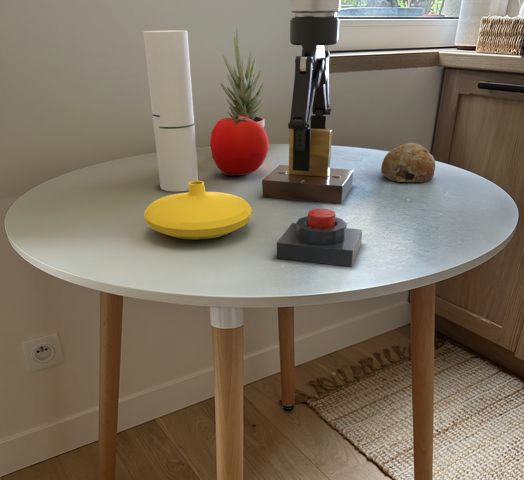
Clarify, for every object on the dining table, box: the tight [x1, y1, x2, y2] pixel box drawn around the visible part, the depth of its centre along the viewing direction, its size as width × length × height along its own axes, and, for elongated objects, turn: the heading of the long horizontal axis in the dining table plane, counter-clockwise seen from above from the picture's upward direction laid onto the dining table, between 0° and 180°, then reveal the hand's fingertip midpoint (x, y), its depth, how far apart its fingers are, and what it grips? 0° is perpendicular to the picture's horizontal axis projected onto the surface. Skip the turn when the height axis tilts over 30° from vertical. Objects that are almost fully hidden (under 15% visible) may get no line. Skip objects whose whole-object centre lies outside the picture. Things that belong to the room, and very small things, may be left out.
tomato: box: [209, 111, 270, 176], centre depth 105 cm, size 12×12×11 cm
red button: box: [307, 208, 337, 229], centre depth 71 cm, size 4×4×2 cm
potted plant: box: [220, 27, 266, 128], centre depth 116 cm, size 10×10×25 cm
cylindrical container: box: [142, 29, 199, 193], centre depth 95 cm, size 7×7×25 cm
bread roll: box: [380, 142, 436, 183], centre depth 104 cm, size 10×10×8 cm
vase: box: [143, 180, 253, 241], centre depth 79 cm, size 16×16×7 cm
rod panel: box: [261, 164, 354, 205], centre depth 97 cm, size 14×11×3 cm
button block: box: [276, 215, 363, 267], centre depth 73 cm, size 10×8×4 cm
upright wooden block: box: [288, 127, 333, 177], centre depth 94 cm, size 7×2×8 cm, turn 73°
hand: (309, 161), depth 95 cm, fingers open, 11 cm apart
